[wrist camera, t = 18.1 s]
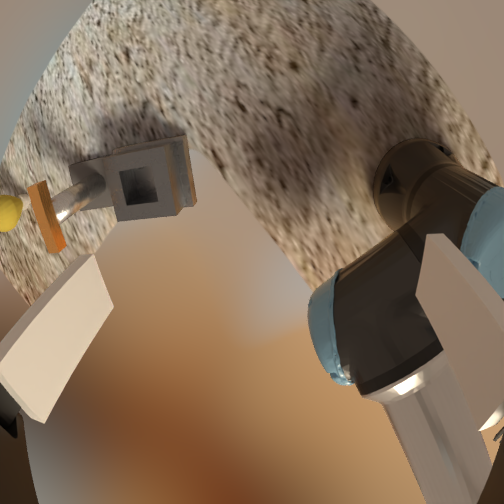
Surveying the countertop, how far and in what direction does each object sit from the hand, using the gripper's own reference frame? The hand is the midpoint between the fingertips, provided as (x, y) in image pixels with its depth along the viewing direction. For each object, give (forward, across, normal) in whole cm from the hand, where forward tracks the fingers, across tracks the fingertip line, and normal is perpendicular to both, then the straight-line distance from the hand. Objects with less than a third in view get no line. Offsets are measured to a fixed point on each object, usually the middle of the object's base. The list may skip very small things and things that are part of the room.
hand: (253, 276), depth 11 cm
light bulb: (+32, -46, -2) cm, 56 cm away
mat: (+32, -27, -2) cm, 42 cm away
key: (+31, -27, -2) cm, 41 cm away
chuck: (+32, -17, -2) cm, 36 cm away
